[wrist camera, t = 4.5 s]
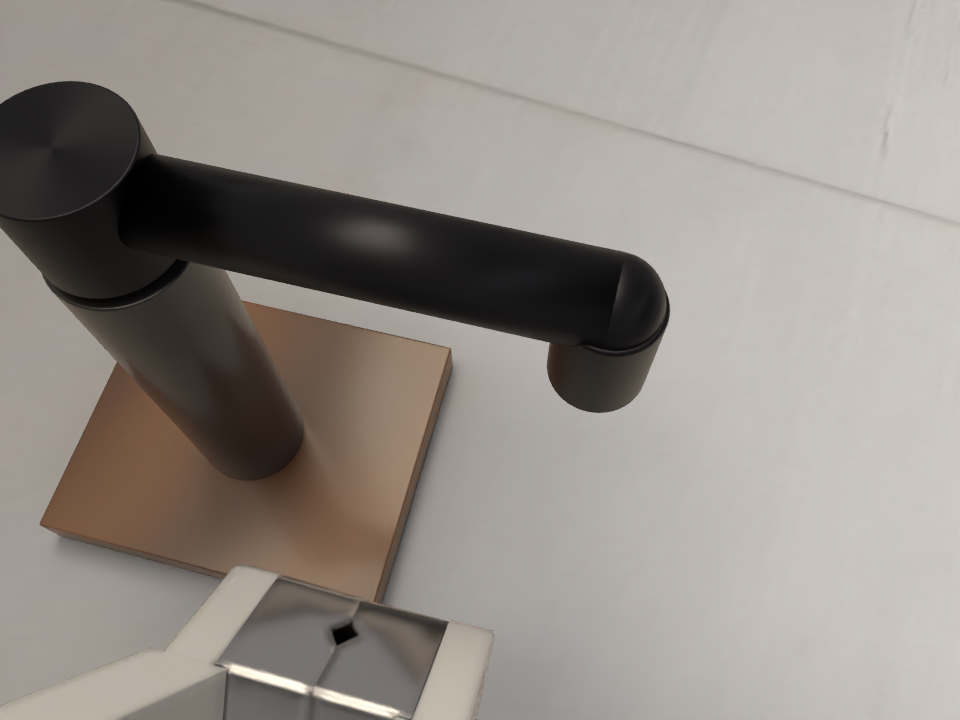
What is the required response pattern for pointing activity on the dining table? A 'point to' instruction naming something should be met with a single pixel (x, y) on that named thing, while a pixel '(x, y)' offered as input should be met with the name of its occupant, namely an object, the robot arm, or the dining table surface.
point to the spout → (310, 242)
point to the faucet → (248, 435)
